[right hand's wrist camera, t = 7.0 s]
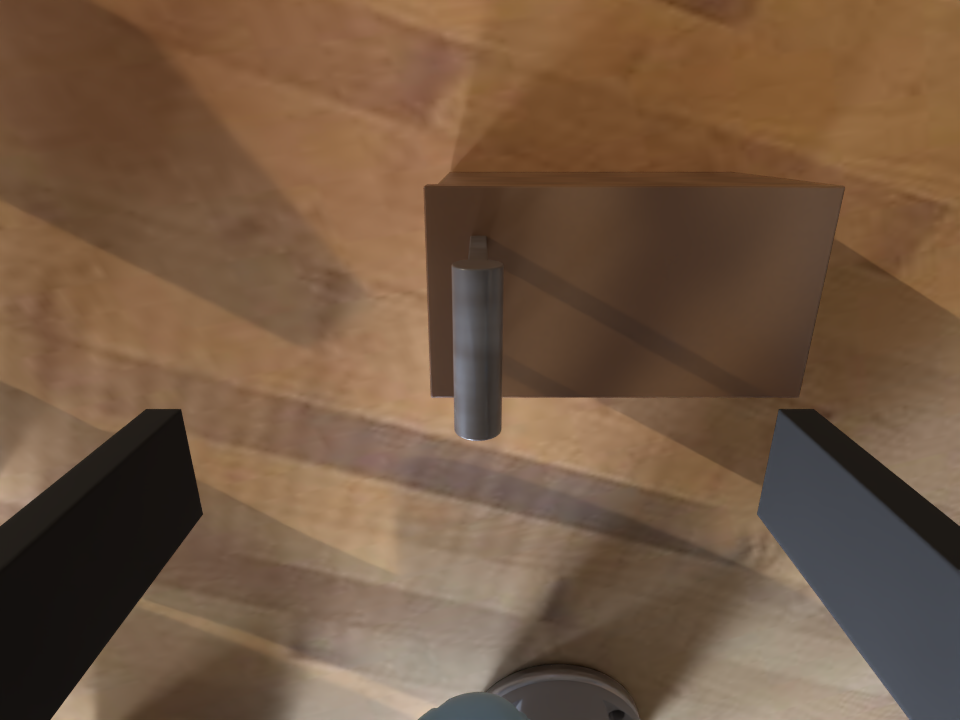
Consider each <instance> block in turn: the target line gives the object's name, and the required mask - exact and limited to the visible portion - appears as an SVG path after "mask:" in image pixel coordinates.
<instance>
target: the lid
mask: <svg viewBox="0 0 960 720" xmlns="http://www.w3.org/2000/svg"><path fill="white" fill-rule="evenodd" d="M844 190H845V187H844V186H839V185H831V184H427V185H425V186H424V213H425V242H426V271H427V301H428V330H429V359H430V389H431V397H454V426H455V432H456V434H457V435H458V436H460V437H462V438H464V439H467V440H473V441H482V440H488V439H492V438H494V437H496V436H497V435H499V434H500V432H501V421H502V397H636V398H798V397H799V394H800V389H801V385H802V380H803V376H804V371H805V367H806V362H807V357H808V353H809V348H810V344H811V339H812V335H813V330H814V326H815V321H816V317H817V312H818V308H819V303H820V298H821V294H822V289H823V285H824V280H825V276H826V271H827V267H828V262H829V258H830V253H831V249H832V244H833V239H834V235H835V230H836V226H837V221H838V217H839V212H840V208H841V203H842V199H843V194H844Z"/></svg>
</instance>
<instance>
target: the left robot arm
mask: <svg viewBox="0 0 960 720" xmlns="http://www.w3.org/2000/svg"><path fill="white" fill-rule="evenodd" d="M418 720H640V717H639V714H638V710H637V707H636V704H635V702H634V700H633V698H632V697H631V695H630V694H629V693H628V691H627V690H626V689H625V688H624V687H623V686H622V685H621V684H619V683H618V682H617V681H615V680H614V679H612V678H611V677H609V676H607V675H605V674H603V673H601V672H598V671H596V670H593V669H589V668H586V667H581V666H576V665H565V664H553V665H542V666H536V667H531V668H528V669H524V670H521V671H518V672H516V673H513V674H511V675H509V676H507V677H505V678H503V679H502V680H500V681H499V682H497V683H496V684H494V685H493V686H492V687H491V688H489V689H488V690H487V691H486V692H471V693H466V694H462V695H459V696H456V697H453V698H451V699H449V700H447V701H446V702H445V703H444V704H442V705H441V706H440V707H438V708H433V709H431V710H429V711H428V712H427V713H425V714H424V715H423V716H422V717H420V718H419V719H418Z"/></svg>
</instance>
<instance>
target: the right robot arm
mask: <svg viewBox="0 0 960 720" xmlns="http://www.w3.org/2000/svg"><path fill="white" fill-rule="evenodd" d="M202 515H203V512H202V507H201V502H200V498H199V493H198V488H197V483H196V478H195V474H194V469H193V464H192V459H191V454H190V450H189V445H188V440H187V435H186V430H185V426H184V421H183V416H182V411H181V409H146V410H145V411H143V412H142V413H141V414H140V415H138V416H137V417H136V418H135V419H133V420H132V421H131V422H130V423H128V424H127V425H126V426H125V427H123V428H122V429H121V430H120V431H118V432H117V433H116V434H115V435H113V436H112V437H111V438H110V439H108V440H107V441H106V442H105V443H103V444H102V445H101V446H100V447H98V448H97V449H96V450H95V451H93V452H92V453H91V454H90V455H89V456H87V457H86V458H85V459H84V460H82V461H81V462H80V463H79V464H77V465H76V466H75V467H74V468H72V469H71V470H70V471H69V472H67V473H66V474H65V475H64V476H62V477H61V478H60V479H59V480H57V481H56V482H55V483H54V484H52V485H51V486H50V487H49V488H47V489H46V490H45V491H44V492H42V493H41V494H40V495H39V496H37V497H36V498H35V499H34V500H32V501H31V502H30V503H29V504H27V505H26V506H25V507H24V508H23V509H21V510H20V511H19V512H18V513H16V514H15V515H14V516H13V517H11V518H10V519H9V520H8V521H6V522H5V523H4V524H3V525H1V526H0V720H51V718H52V717H53V716H54V714H55V713H56V711H57V710H58V709H59V707H60V706H61V705H62V703H63V702H64V701H65V699H66V698H67V697H68V695H69V694H70V693H71V691H72V690H73V689H74V687H75V686H76V685H77V683H78V682H79V681H80V679H81V678H82V676H83V675H84V674H85V672H86V671H87V670H88V668H89V667H90V666H91V664H92V663H93V662H94V660H95V659H96V658H97V656H98V655H99V654H100V652H101V651H102V650H103V648H104V647H105V645H106V644H107V643H108V641H109V640H110V639H111V637H112V636H113V635H114V633H115V632H116V631H117V629H118V628H119V627H120V625H121V624H122V623H123V621H124V620H125V619H126V617H127V616H128V615H129V613H130V612H131V610H132V609H133V608H134V606H135V605H136V604H137V602H138V601H139V600H140V598H141V597H142V596H143V594H144V593H145V592H146V590H147V589H148V588H149V586H150V585H151V584H152V582H153V581H154V580H155V578H156V577H157V575H158V574H159V573H160V571H161V570H162V569H163V567H164V566H165V565H166V563H167V562H168V561H169V559H170V558H171V557H172V555H173V554H174V553H175V551H176V550H177V549H178V547H179V546H180V544H181V543H182V542H183V540H184V539H185V538H186V536H187V535H188V534H189V532H190V531H191V530H192V528H193V527H194V526H195V524H196V523H197V522H198V520H199V519H200V518H201V516H202ZM757 515H758V516H759V518H760V519H761V520H762V522H763V523H764V524H765V526H766V527H767V528H768V530H769V531H770V532H771V534H772V535H773V536H774V538H775V539H776V540H777V542H778V543H779V544H780V546H781V547H782V549H783V550H784V551H785V553H786V554H787V555H788V557H789V558H790V559H791V561H792V562H793V563H794V565H795V566H796V567H797V569H798V570H799V571H800V573H801V574H802V575H803V577H804V578H805V580H806V581H807V582H808V584H809V585H810V586H811V588H812V589H813V590H814V592H815V593H816V594H817V596H818V597H819V598H820V600H821V601H822V602H823V604H824V605H825V606H826V608H827V609H828V610H829V612H830V613H831V615H832V616H833V617H834V619H835V620H836V621H837V623H838V624H839V625H840V627H841V628H842V629H843V631H844V632H845V633H846V635H847V636H848V637H849V639H850V640H851V641H852V643H853V644H854V645H855V647H856V648H857V650H858V651H859V652H860V654H861V655H862V656H863V658H864V659H865V660H866V662H867V663H868V664H869V666H870V667H871V668H872V670H873V671H874V672H875V674H876V675H877V676H878V678H879V679H880V681H881V682H882V683H883V685H884V686H885V687H886V689H887V690H888V691H889V693H890V694H891V695H892V697H893V698H894V699H895V701H896V702H897V703H898V705H899V706H900V707H901V709H902V710H903V711H904V713H905V714H906V716H907V717H908V718H909V720H960V526H959V525H957V524H956V523H955V522H954V521H952V520H951V519H950V518H949V517H947V516H946V515H945V514H944V513H942V512H941V511H940V510H939V509H937V508H936V507H935V506H934V505H933V504H931V503H930V502H929V501H928V500H926V499H925V498H924V497H923V496H921V495H920V494H919V493H918V492H916V491H915V490H914V489H913V488H911V487H910V486H909V485H908V484H906V483H905V482H904V481H903V480H901V479H900V478H899V477H898V476H896V475H895V474H894V473H893V472H891V471H890V470H889V469H888V468H886V467H885V466H884V465H883V464H881V463H880V462H879V461H878V460H876V459H875V458H874V457H873V456H871V455H870V454H869V453H868V452H867V451H865V450H864V449H863V448H862V447H860V446H859V445H858V444H857V443H855V442H854V441H853V440H852V439H850V438H849V437H848V436H847V435H845V434H844V433H843V432H842V431H840V430H839V429H838V428H837V427H835V426H834V425H833V424H832V423H830V422H829V421H828V420H827V419H825V418H824V417H823V416H822V415H820V414H819V413H818V412H817V411H815V410H814V409H779V411H778V416H777V421H776V426H775V430H774V435H773V440H772V445H771V450H770V454H769V459H768V464H767V469H766V474H765V478H764V483H763V488H762V493H761V498H760V502H759V507H758V512H757Z"/></svg>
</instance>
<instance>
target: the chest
mask: <svg viewBox="0 0 960 720" xmlns="http://www.w3.org/2000/svg"><path fill="white" fill-rule="evenodd" d="M439 184H823V183H815V182H807V181H799V180H791V179H783V178H775V177H767V176H758V175H750V174H742V173H734V172H449V174H448V175H447V176H446V177H445V178H444V179H443V180H442V181H441V182H440V183H439Z"/></svg>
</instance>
